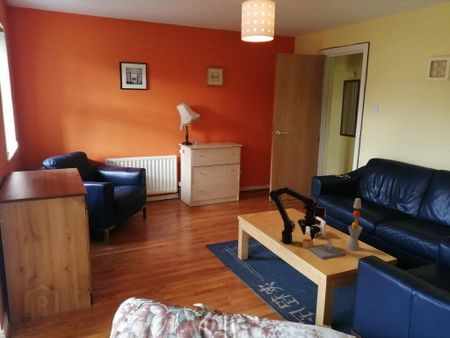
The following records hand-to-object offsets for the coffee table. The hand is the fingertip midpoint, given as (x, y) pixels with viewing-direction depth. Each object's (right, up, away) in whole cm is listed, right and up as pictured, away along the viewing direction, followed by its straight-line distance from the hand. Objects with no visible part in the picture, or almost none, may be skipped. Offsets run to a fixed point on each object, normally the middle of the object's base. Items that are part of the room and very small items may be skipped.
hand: (308, 237), depth 240 cm
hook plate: (+10, -9, -8) cm, 16 cm away
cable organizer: (+10, -3, +23) cm, 26 cm away
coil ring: (0, -6, +1) cm, 7 cm away
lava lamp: (+31, -8, 0) cm, 32 cm away
